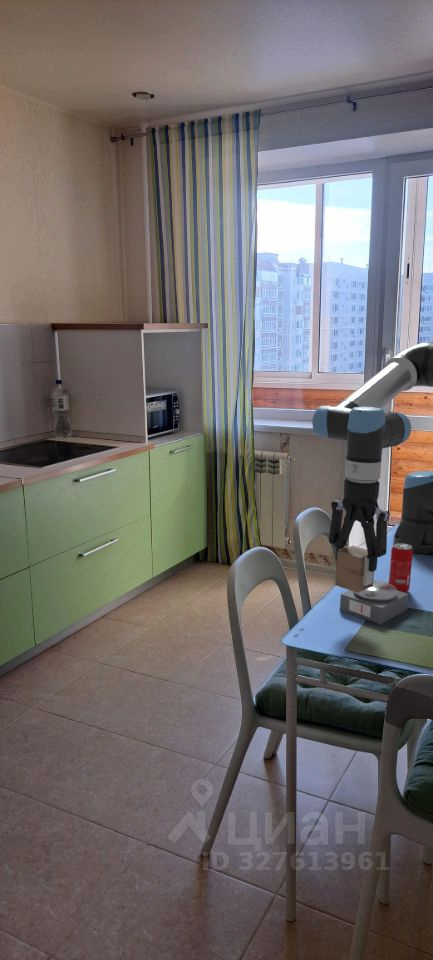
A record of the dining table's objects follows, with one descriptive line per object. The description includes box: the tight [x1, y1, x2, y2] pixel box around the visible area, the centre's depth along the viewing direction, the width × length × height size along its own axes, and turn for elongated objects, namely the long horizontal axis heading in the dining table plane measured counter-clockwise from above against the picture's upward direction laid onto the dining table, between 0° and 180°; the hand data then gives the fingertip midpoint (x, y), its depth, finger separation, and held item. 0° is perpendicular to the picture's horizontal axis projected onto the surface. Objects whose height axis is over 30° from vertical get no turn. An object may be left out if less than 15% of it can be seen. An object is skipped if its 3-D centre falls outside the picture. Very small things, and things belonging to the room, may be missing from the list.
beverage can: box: [388, 543, 414, 594], centre depth 177 cm, size 5×5×12 cm
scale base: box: [339, 590, 409, 625], centre depth 166 cm, size 12×11×4 cm
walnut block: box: [334, 545, 375, 593], centre depth 156 cm, size 6×6×8 cm
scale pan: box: [353, 579, 397, 602], centre depth 165 cm, size 10×10×2 cm
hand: (354, 579), depth 157 cm, fingers closed on walnut block, 6 cm apart
